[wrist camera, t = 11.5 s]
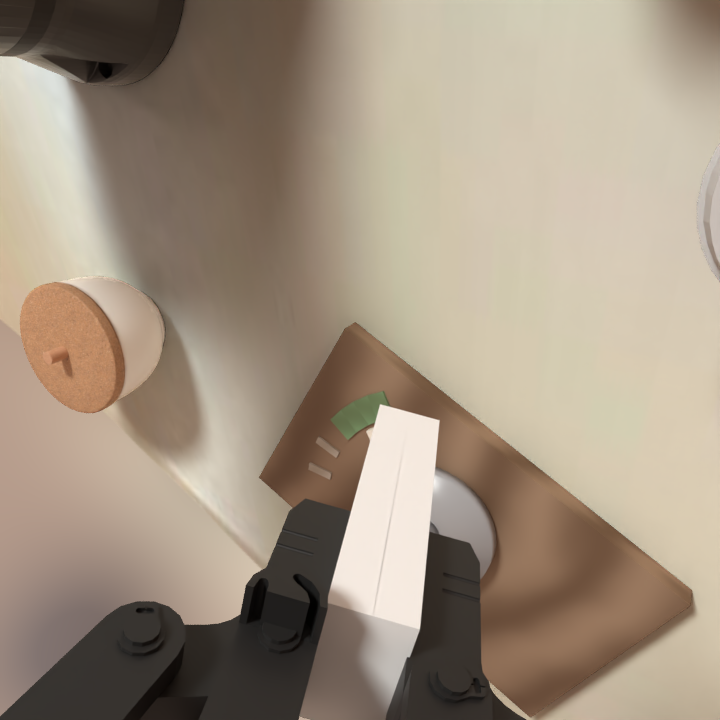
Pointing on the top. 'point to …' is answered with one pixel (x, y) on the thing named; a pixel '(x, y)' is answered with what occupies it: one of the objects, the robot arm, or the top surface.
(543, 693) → the board
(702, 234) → the disposable coffee cup
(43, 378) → the lidded jar
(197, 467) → the top surface
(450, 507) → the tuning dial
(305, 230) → the top surface
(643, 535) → the top surface
